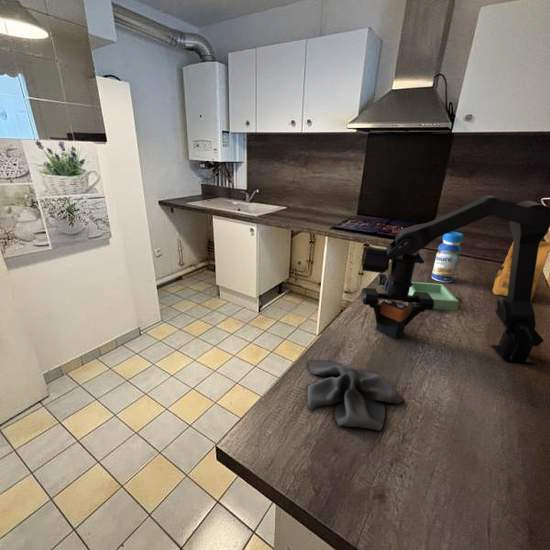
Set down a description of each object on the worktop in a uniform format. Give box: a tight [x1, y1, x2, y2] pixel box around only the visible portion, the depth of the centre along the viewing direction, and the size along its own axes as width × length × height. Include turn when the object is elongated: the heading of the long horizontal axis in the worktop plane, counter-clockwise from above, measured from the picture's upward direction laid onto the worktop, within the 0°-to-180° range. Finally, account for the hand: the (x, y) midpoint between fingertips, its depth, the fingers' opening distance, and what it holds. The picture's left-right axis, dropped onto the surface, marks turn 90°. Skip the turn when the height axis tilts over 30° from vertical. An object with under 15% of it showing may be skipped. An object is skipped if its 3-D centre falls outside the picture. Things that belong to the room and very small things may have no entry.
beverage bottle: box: [431, 231, 464, 283], centre depth 120 cm, size 8×8×20 cm
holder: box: [408, 281, 460, 311], centre depth 105 cm, size 14×13×4 cm
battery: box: [375, 300, 409, 339], centre depth 84 cm, size 4×7×10 cm, turn 42°
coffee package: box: [491, 240, 550, 300], centre depth 107 cm, size 10×12×22 cm
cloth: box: [307, 360, 403, 432], centre depth 63 cm, size 22×19×6 cm
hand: (390, 324), depth 85 cm, fingers closed on battery, 7 cm apart
